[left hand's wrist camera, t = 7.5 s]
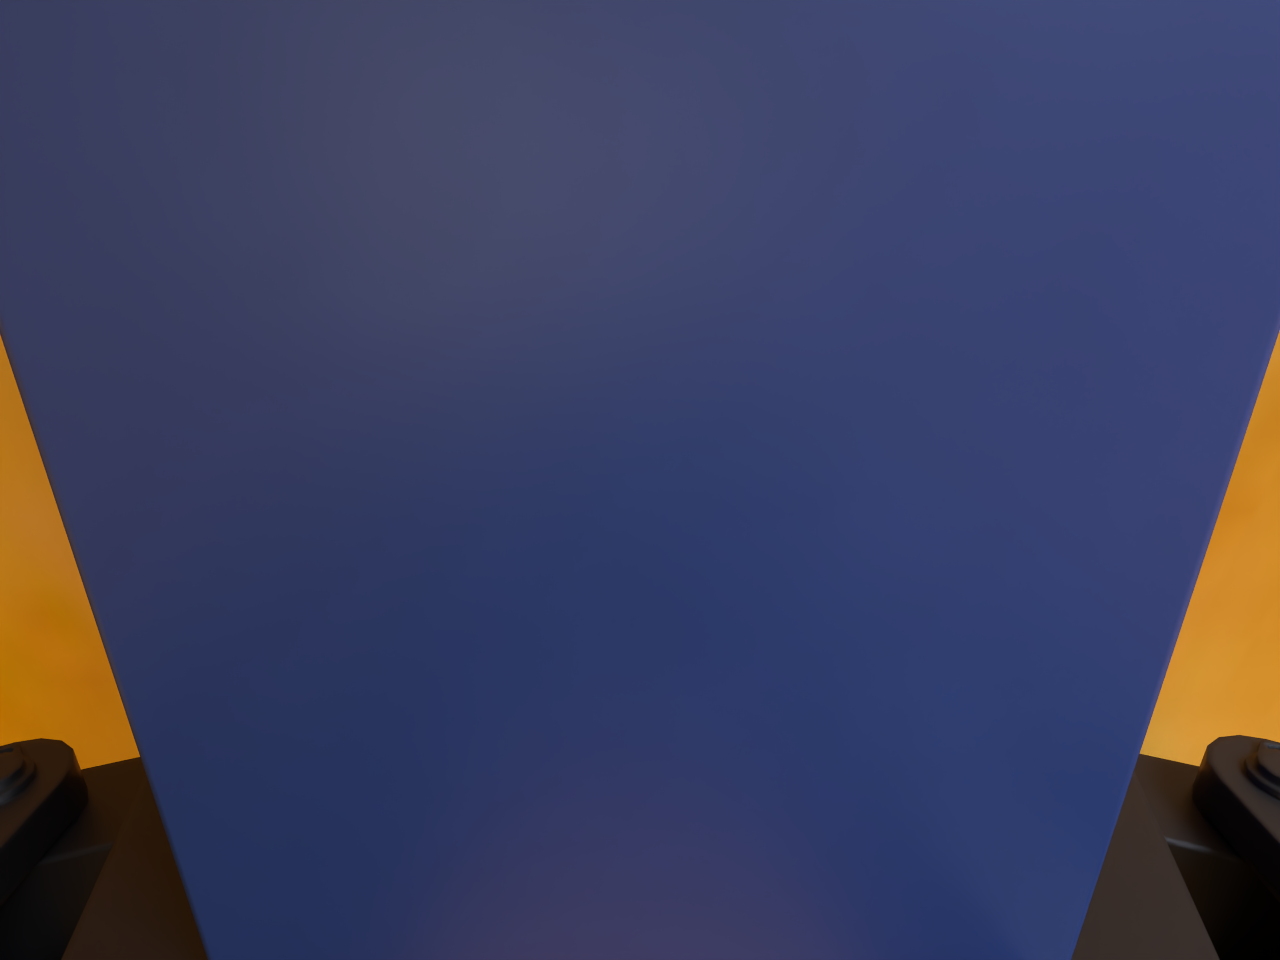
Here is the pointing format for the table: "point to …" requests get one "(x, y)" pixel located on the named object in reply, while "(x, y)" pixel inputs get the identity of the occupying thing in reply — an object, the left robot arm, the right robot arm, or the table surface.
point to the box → (639, 447)
